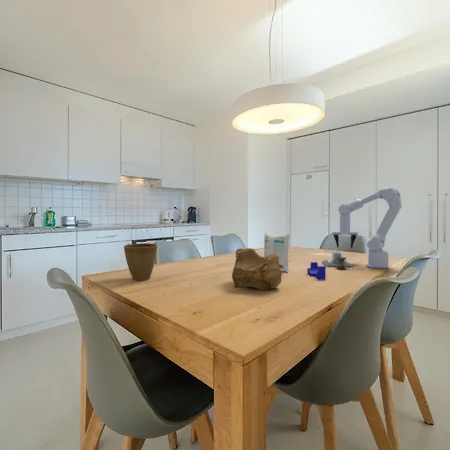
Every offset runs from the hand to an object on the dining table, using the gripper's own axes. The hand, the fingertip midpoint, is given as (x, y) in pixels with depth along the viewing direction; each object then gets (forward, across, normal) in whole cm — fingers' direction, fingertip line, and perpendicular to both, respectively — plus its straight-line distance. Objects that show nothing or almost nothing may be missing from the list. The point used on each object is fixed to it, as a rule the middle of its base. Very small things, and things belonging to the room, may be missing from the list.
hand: (344, 247), depth 168 cm
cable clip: (+10, -18, -41) cm, 46 cm away
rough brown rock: (+10, -46, -66) cm, 81 cm away
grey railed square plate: (+9, -5, -8) cm, 13 cm away
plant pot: (+10, -97, -66) cm, 118 cm away
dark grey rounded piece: (+9, -4, -18) cm, 21 cm away
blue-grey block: (+8, -5, -8) cm, 13 cm away
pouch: (+10, -38, -29) cm, 49 cm away
